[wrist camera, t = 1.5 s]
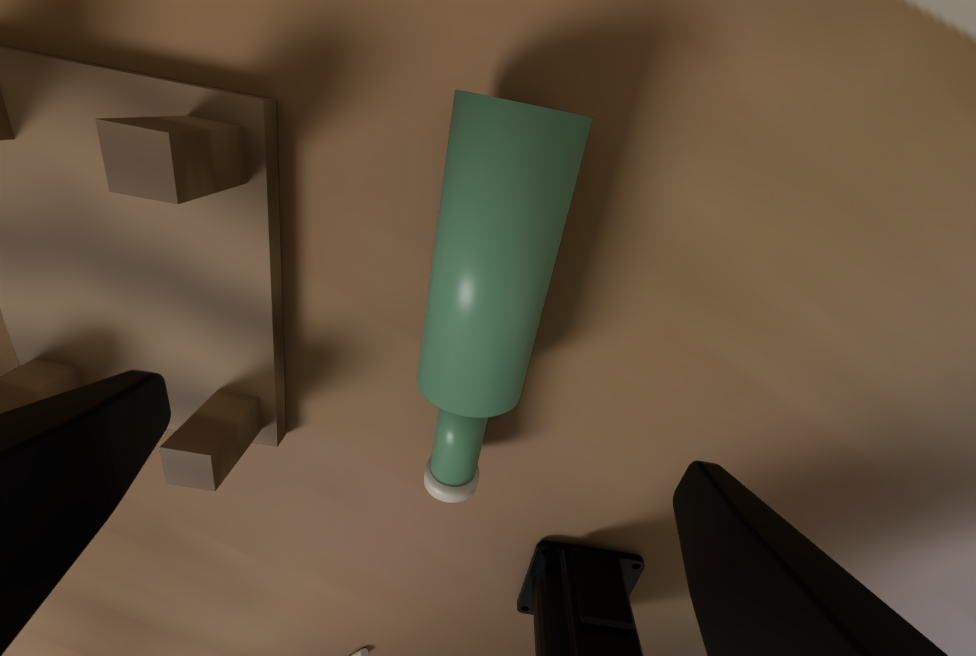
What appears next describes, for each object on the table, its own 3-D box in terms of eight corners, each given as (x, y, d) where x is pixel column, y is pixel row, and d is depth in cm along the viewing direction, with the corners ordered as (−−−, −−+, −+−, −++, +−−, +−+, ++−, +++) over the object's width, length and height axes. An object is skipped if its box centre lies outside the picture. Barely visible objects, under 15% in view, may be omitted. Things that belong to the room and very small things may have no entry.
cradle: (286, 434, 24) (235, 510, 19) (52, 395, 23) (-57, 465, 19) (276, 100, 17) (191, 98, 12) (-63, 32, 16) (-284, 5, 12)
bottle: (437, 86, 15) (487, 95, 12) (549, 109, 17) (621, 123, 14) (394, 455, 23) (417, 529, 19) (476, 443, 25) (510, 508, 21)
